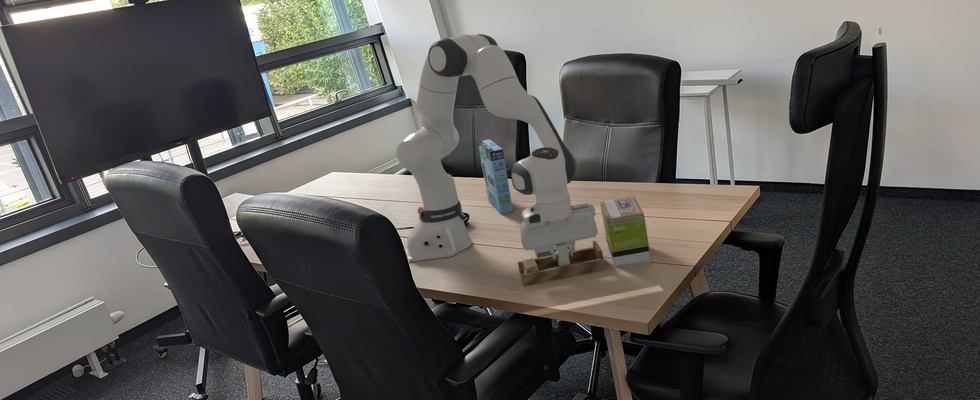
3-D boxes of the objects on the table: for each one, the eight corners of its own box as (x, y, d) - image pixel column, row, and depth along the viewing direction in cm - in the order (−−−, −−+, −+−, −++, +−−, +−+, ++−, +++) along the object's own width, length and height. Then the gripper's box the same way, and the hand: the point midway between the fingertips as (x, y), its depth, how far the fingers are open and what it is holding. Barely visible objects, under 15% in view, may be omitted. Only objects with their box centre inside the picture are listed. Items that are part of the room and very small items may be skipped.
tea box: (606, 250, 211) (599, 200, 207) (642, 244, 210) (635, 194, 206) (614, 270, 197) (606, 218, 193) (652, 264, 196) (645, 211, 192)
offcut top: (527, 275, 197) (526, 268, 196) (523, 267, 202) (522, 260, 202) (538, 272, 197) (537, 265, 196) (534, 264, 203) (533, 258, 202)
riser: (538, 263, 211) (536, 253, 210) (535, 253, 219) (533, 243, 218) (573, 256, 211) (571, 246, 210) (568, 246, 219) (566, 237, 218)
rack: (523, 289, 196) (520, 268, 194) (520, 275, 205) (516, 255, 204) (606, 273, 196) (602, 252, 194) (598, 259, 205) (595, 239, 204)
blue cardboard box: (488, 201, 277) (476, 141, 271) (501, 197, 278) (490, 138, 271) (500, 215, 259) (488, 151, 252) (514, 211, 260) (503, 148, 253)
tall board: (562, 275, 197) (557, 247, 195) (558, 266, 203) (554, 239, 201) (571, 273, 197) (566, 246, 195) (567, 264, 203) (562, 237, 201)
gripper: (591, 198, 198) (598, 246, 202) (515, 213, 198) (524, 260, 202) (596, 205, 192) (603, 254, 196) (518, 220, 192) (527, 269, 196)
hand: (562, 257), depth 199 cm, fingers closed on tall board, 2 cm apart
